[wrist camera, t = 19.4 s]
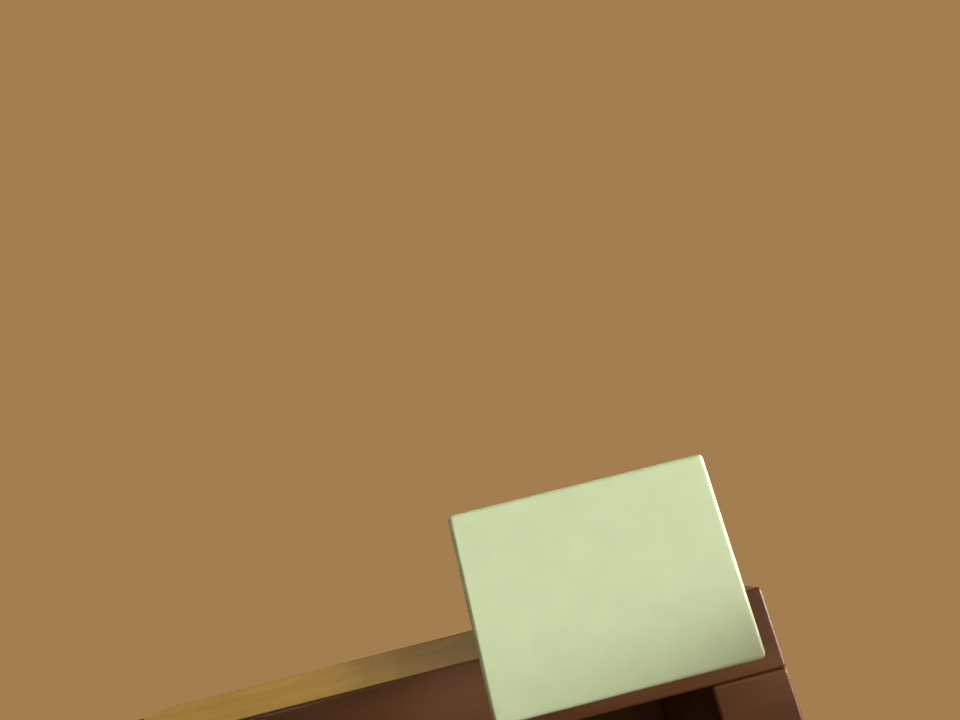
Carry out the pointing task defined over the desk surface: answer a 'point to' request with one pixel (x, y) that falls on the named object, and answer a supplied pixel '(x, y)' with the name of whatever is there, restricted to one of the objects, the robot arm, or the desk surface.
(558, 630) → the pencil tin
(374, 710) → the shelf stand
